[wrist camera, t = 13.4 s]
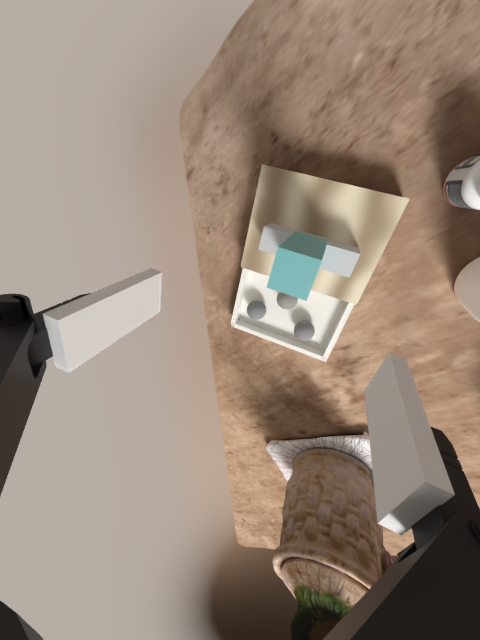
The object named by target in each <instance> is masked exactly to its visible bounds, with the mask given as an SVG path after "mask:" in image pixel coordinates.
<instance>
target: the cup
mask: <svg viewBox="0 0 480 640" xmlns="http://www.w3.org/2000/svg"><path fill="white" fill-rule="evenodd" d="M454 292H455V296H456V298H457V300H458V301H459V303H460V304H461V305H462V306H463V307H464V308H465V309H466V310H467V311H468V312H469V313H470V314H471V315H472V316H473V317H474V318H475V319H476V320H477V321H478V322H479V323H480V257H478V258H476V259H475V260H473V261H471V262H470V263H469V264H467V265H466V266H465V267H464V268H463V269H462V270H461V272H460V273H459V275H458V276H457V278H456V281H455V285H454Z"/></svg>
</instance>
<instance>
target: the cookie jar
mask: <svg viewBox="0 0 480 640" xmlns="http://www.w3.org/2000/svg"><path fill="white" fill-rule="evenodd" d="M363 433H364V435H348V436H329V437H320V438H313V439H298V440H271V441H270V442H269V443H268V444H267V445H266V450H267V451H268V452H269V454H270V455H271V456H272V458H273V460H274V461H275V462H276V463H277V465H278V467H279V468H280V470H281V471H282V473H283V475H284V477H285V478H286V480H288V483H287V486H286V497H285V501H284V505H283V513H282V514H283V523H282V531H281V538H280V546H279V547H278V548H276V549H275V551H274V553H273V568H274V570H275V572H276V574H277V575H278V576H279V577H280V578H281V579H282V580H283V581H284V583H285V585H286V586H287V587H288V589H289V590H290V591H291V592H292V594H293V595H294V597H295V598H296V600H297V602H298V604H299V605H298V606H297V608H296V611H295V614H294V616H293V619H292V621H291V625H290V634H289V640H323V639H324V638H325V637H326V636H327V635H328V633H329V632H330V631H331V630H332V629H333V628H334V627H335V626H336V625H337V624H338V623H339V622H340V620H341V619H342V618H343V617H344V616H345V615H346V614H347V613H348V612H349V611H350V610H351V608H352V607H353V606H354V605H355V604H356V603H357V602H358V601H359V600H360V599H361V598H362V596H363V595H364V594H365V593H366V592H367V591H368V590H369V589H370V588H371V587H372V586H373V585H374V583H375V582H376V581H377V580H378V579H379V578H380V577H381V576H382V575H383V574H384V573H385V571H386V570H387V569H388V568H389V567H390V566H391V565H392V560H391V557H390V554H389V552H387V551H386V550H385V548H384V546H383V529H382V525H380V524H378V521H377V511H376V501H375V491H374V481H373V471H372V461H371V451H370V441H369V435H368V434H367V432H363Z"/></svg>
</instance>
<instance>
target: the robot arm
mask: <svg viewBox="0 0 480 640" xmlns="http://www.w3.org/2000/svg"><path fill="white" fill-rule="evenodd" d="M161 284H162V272H160V271H158V270H154V269H152V268H151V269H148V270H146V271H144V272H141V273H139V274H136V275H134V276H132V277H129V278H127V279H125V280H122V281H120V282H117V283H115V284H113V285H110V286H108V287H105V288H103V289H101V290H98V291H96V292H93V293H89V294H84V295H79V296H77V297H75V298H72V299H71V300H67V301H65V302H63V303H62V304H61V303H60V304H57V305H55V306H53V307H50V308H48V309H45V310H43V311H40V312H38V313H35V314H33V310H32V306H31V303H30V299H29V298H28V297H27V296H24V295H21V294H4V295H0V495H1V492H2V490H3V487H4V484H5V481H6V478H7V475H8V473H9V470H10V467H11V464H12V462H13V459H14V456H15V453H16V450H17V448H18V445H19V442H20V439H21V436H22V434H23V431H24V428H25V425H26V422H27V419H28V417H29V414H30V411H31V409H32V406H33V403H34V400H35V397H36V394H37V392H38V389H39V386H40V383H41V381H42V378H43V375H44V372H45V369H46V360H47V359H49V358H50V357H52V356H53V360H54V364H55V367H57V368H59V369H61V370H63V371H65V372H67V373H70V372H71V371H73V370H74V369H75V368H77V367H79V366H80V365H82V364H83V363H84V362H86V361H88V360H89V359H91V358H92V357H93V356H95V355H96V354H98V353H99V352H101V351H102V350H104V349H105V348H107V347H108V346H110V345H111V344H113V343H114V342H116V341H117V340H118V339H120V338H122V337H123V336H124V335H126V334H128V333H129V332H130V331H132V330H133V329H135V328H136V327H138V326H139V325H141V324H142V323H144V322H145V321H147V320H148V319H150V318H151V317H153V316H154V315H156V314H157V313H159V312H160V308H161V286H162V285H161ZM364 392H365V402H366V412H367V422H368V432H369V441H370V451H371V461H372V471H373V481H374V491H375V501H376V511H377V521H378V524H380V525H382V526H384V527H386V528H388V529H390V530H392V531H394V532H396V533H398V534H400V535H403V534H404V533H405V532H407V531H408V530H409V529H411V528H412V530H413V535H414V540H415V542H414V543H412V544H411V545H409V546H408V547H406V548H405V549H404V550H402V551H401V552H399V553H398V554H397V555H398V556H399V557H398V558H397V560H396V561H395V562H394V563H393V564H392V565H391V566H390V567H389V568H388V569H387V570H386V571H385V573H384V574H383V575H382V576H381V577H380V578H379V579H378V580H377V581H376V582H375V583H374V585H373V586H372V587H371V588H370V589H369V590H368V591H367V592H366V593H365V594H364V595H363V596H362V598H361V599H360V600H359V601H358V602H357V603H356V604H355V605H354V606H353V607H352V608H351V610H350V611H349V612H348V613H347V614H346V615H345V616H344V617H343V618H342V619H341V620H340V622H339V623H338V624H337V625H336V626H335V627H334V628H333V629H332V630H331V631H330V632H329V633H328V635H327V636H326V637H325V638H324V639H323V640H480V509H479V507H478V505H477V502H476V500H475V497H474V495H473V493H472V490H471V488H470V486H469V483H468V481H467V478H466V476H465V474H464V472H463V471H462V467H461V464H460V462H459V460H457V458H458V457H457V455H456V452H455V450H454V448H453V445H452V444H451V442H450V441H449V440H448V438H447V437H446V436H445V435H444V433H443V432H442V431H441V430H438V429H435V428H433V427H430V424H429V422H428V419H427V416H426V413H425V410H424V408H423V405H422V402H421V399H420V397H419V394H418V391H417V388H416V385H415V383H414V380H413V377H412V374H411V372H410V369H409V366H408V363H407V361H406V358H403V357H401V356H398V355H395V354H392V353H389V354H388V356H387V357H386V359H385V360H384V362H383V363H382V365H381V366H380V368H379V369H378V371H377V372H376V374H375V376H374V377H373V379H372V380H371V382H370V383H369V385H368V386H367V388H366V389H365V391H364ZM0 640H43V639H42V637H41V636H40V635H39V634H38V633H37V632H36V631H35V630H34V629H33V628H32V627H31V626H30V625H28V624H27V623H26V622H25V621H24V620H23V619H22V618H21V617H20V616H19V615H18V614H17V613H16V612H14V611H13V610H12V609H10V608H9V607H8V606H6V605H5V604H4V603H3V602H1V601H0Z"/></svg>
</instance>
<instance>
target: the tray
mask: <svg viewBox="0 0 480 640" xmlns="http://www.w3.org/2000/svg"><path fill="white" fill-rule="evenodd" d="M268 281H269V276H266V275H263V274H260V273H257V272H254V271H251V270H248V269H245V268H243V269H242V274H241V278H240V283H239V288H238V292H237V297H236V301H235V306H234V311H233V315H232V320H231V324H230V326H232V327H235V328H238V329H240V330H243V331H245V332H248V333H251V334H253V335H256V336H259V337H261V338H264V339H267V340H269V341H272V342H275V343H277V344H280V345H282V346H285V347H288V348H290V349H293V350H296V351H298V352H301V353H304V354H306V355H309V356H311V357H314V358H317V359H319V360H322V361H325V362H326V360H327V358H328V356H329V354H330V352H331V350H332V348H333V346H334V344H335V342H336V340H337V338H338V336H339V334H340V332H341V330H342V328H343V326H344V324H345V322H346V320H347V318H348V316H349V314H350V312H351V310H352V308H353V306H354V304H352V303H349V302H346V301H343V300H340V299H337V298H334V297H331V296H328V295H325V294H322V293H319V292H315V291H312V290H311V291H310V293H309V296H308V298H307V301H305V300H302V299H299V298H298V302H297V304H296V305H295V307H293V308H291V309H283V308H281V307H280V306H279V305H278V303H277V295H278V293H279V292H278V291H275V290H272V289H269V288H267V284H268ZM255 300H259V301H261V302H263V303H264V304H265V306H266V314H265V316H264V317H263V318H262V319H259V320H254V319H251V318H250V317H249V316H248V314H247V306H248V304H249V303H250V302H252V301H255ZM303 320H305V321H309V322H310V323H312V324H313V326H314V329H315V333H314V335H313V337H312V338H311V339H309V340H306V341H302V340H299V339H298V338H297V337H296V336H295V334H294V327H295V325H296V324H297V323H298V322H300V321H303Z"/></svg>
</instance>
